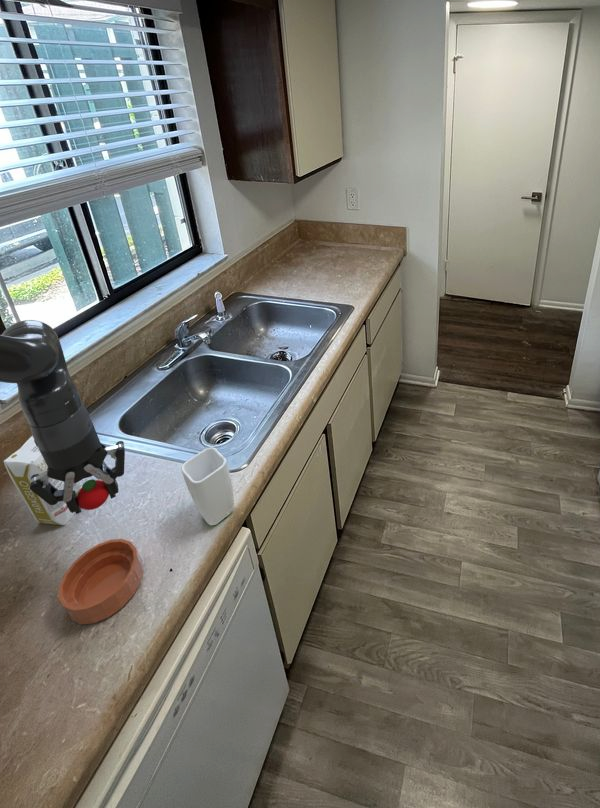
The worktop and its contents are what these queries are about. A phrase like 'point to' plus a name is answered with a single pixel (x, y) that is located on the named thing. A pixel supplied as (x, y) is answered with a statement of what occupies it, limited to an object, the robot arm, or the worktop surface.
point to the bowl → (101, 581)
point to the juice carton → (20, 472)
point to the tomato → (92, 494)
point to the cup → (209, 485)
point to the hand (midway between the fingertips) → (96, 501)
